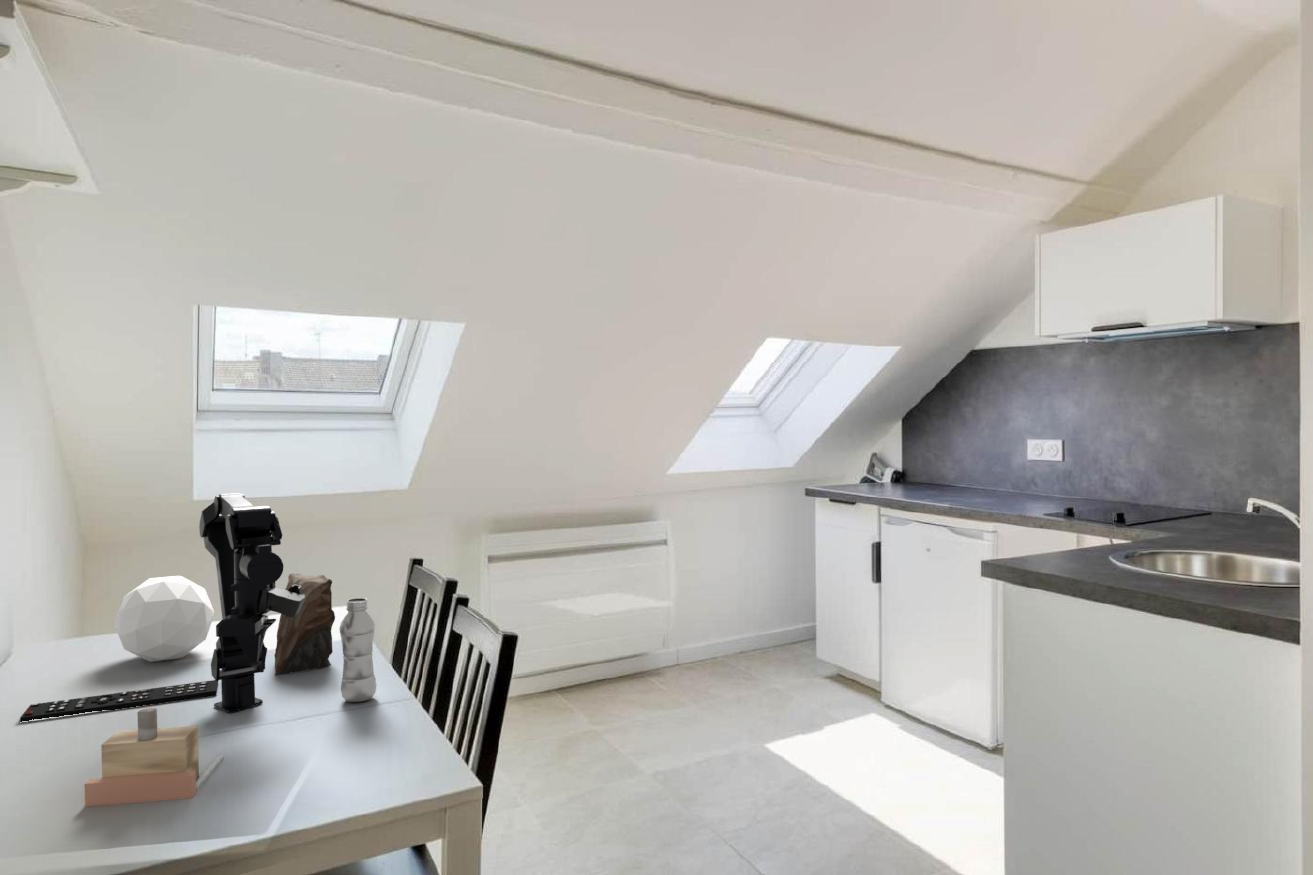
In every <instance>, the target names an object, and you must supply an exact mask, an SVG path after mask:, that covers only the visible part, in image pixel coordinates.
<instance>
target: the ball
mask: <svg viewBox="0 0 1313 875" xmlns="http://www.w3.org/2000/svg"><path fill="white" fill-rule="evenodd" d="M214 616H215V609H214V607H213V605H212V603H211V600H210V597H209V595H208V592H207V590H206V588H204V587H203V586H201V585H198V584H197V583H196V582H193V581H192V580H190V579H188V578H186V577H184V576H182V575H171V576H162V577H161V576H160V577H149V578H148V579H146V580H145V581H144V582H141V584H139V585H137V587H135V588H134V589H132V590H131V591H129V592H127V594H125V595H124V596H123V598H122V601H121V603H120V606H119V609H118V612H117V614H116V617H115V620H114V622H113V625H114V627H115V630H116V632H117V635H118V638H119V639H120V642H121V645H122V647H123V649H124V650H125V651H127V652H129V653H131V654H133V655H136V656H137V657H139V658H141V659H143V660H145V661H147V662H150V663H153V662H154V661H155V662H161V661H169V660H176V659H182V658H184V657H185V656H186V655H187V654H189V653H190V652H191V651H193V650H195V648H197V647H198V646H199V645H200V644H202V643H203V642H205V641H206V640H207V637H208V634H209V631H210V629H211V624H212V622H213V620H214V619H213V618H214Z"/></svg>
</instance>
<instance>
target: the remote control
mask: <svg viewBox="0 0 1313 875" xmlns="http://www.w3.org/2000/svg"><path fill="white" fill-rule="evenodd" d="M218 689H219V681H216V680H215V679H213V680H212V679H211V680H206V681H200V682H190V683H184V684H183V683H182V684H175V685H167V686H160V687H154V688H153V687H152V688H145V689H137V690H130V691H129V690H127V691H122V692H121V691H120V692H115V693H108V694H107V693H105V694H101V695H100V694H99V695H94V696H85V697H76V698H70V699H69V698H68V699H63V700H57V701H56V700H54V701H47V702H38V703H32V704H30V705H29V706H28V707H27V708H26V709H25V711H24V712H23V713H22V715H21V716H20V717H19V723H20V722H22V721H29V720H32V719H33V720H34V719H42V718H49V717H59V716H64V715H73V714H79V713H85V712H92V711H102V710H113V711H116V710H115V709H120V710H123V709H122V708H127V709H131V708H130V707H134V708H137V707H136V706H141V707H144V706H143V705H148V706H151V705H150V704H155V705H160V704H159V703H162V704H167V703H166V702H169V703H174V702H173V701H176V702H181V701H182V700H183V701H188V700H197V699H205V698H210V697H216V696H217V693H218Z"/></svg>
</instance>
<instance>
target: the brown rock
mask: <svg viewBox="0 0 1313 875" xmlns="http://www.w3.org/2000/svg"><path fill="white" fill-rule="evenodd" d="M332 583H333V581H332V579H330V578H327V577H326V576H325V575H324V574H318V575H302V574H301V573H290V574H289V575H288V581H287V584H286V586H285V589H286V590H288V589H289V588H290V587H291V586H293V585H294V584H296V585H299V586H302V590H303V594H305V602H304V603H303V605H302V608H301V611H300V613H299V614H297V615H296V617H287V616H285V615H284V614H281V613H280V617H279V621H278V627H277V632H276V647H275V653H274V676H275V677H276V676H282V675H287V674H294V673H299V672H307V671H311V670H319V669H325V668H327V667H331V666H332V664H331V662H330V659H329V658H330V657H331V655H332V654H333V651H334V650H333V634H332V629H333V628H332V627H333V625H334V623H335V620H336V613H335V611H334V610H333V609H332V608H333V606H332V603H333V602H332V599H333V596H332V595H333V593H332Z"/></svg>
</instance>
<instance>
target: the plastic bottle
mask: <svg viewBox="0 0 1313 875" xmlns="http://www.w3.org/2000/svg"><path fill="white" fill-rule="evenodd" d="M367 609H368V599H367V598H366V597H355V598H354V597H353V598H350V599H347V601H346V611H347V613H346V615H345V616H344V617H343V619H342V621H341V622H340V625H339V634H340V641H341V646H342V655H343V656H342V657H343V658H342V659H343V669H342V679H341V684H340V692H341V697H342V698H343V700H345V702H349V703H361V702H366V701H368V700H371V699H373V697H374V696H375V695H376V693H377V692H376V691H377V679H376V676H375V675H376V674H375V670H374V662H373V661H374V660H373V652H374V650H373V644H374V638H375V637H374V636H375V627H376V624H375V621H374V620H373V618H372V616H371V615H370V614H369V613H368V612H367Z"/></svg>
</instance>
